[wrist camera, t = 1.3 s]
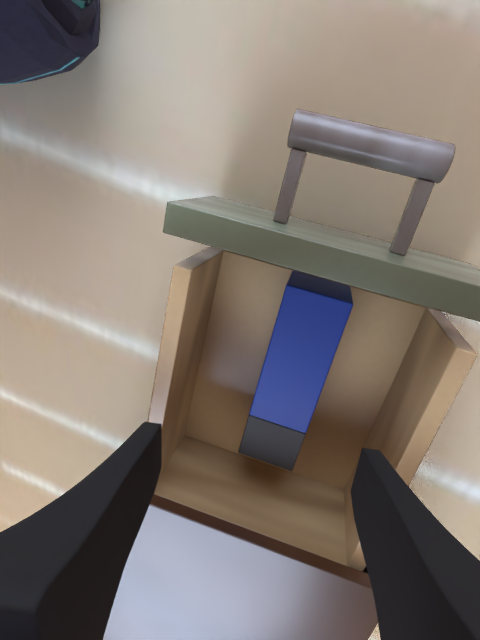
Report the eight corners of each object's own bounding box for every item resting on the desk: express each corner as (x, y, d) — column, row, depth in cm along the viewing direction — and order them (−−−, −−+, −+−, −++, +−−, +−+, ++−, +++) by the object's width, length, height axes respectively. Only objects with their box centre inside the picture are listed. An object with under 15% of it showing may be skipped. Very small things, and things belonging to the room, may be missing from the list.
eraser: (292, 269, 19) (286, 283, 17) (350, 286, 19) (354, 303, 16) (248, 420, 23) (237, 453, 20) (296, 436, 23) (292, 471, 20)
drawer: (231, 104, 19) (186, 70, 13) (514, 170, 17) (607, 165, 11) (168, 427, 26) (122, 496, 20) (361, 494, 24) (369, 590, 19)
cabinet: (167, 403, 26) (105, 487, 19) (375, 474, 25) (394, 596, 17) (138, 561, 33) (83, 669, 25) (302, 626, 31) (293, 763, 24)
